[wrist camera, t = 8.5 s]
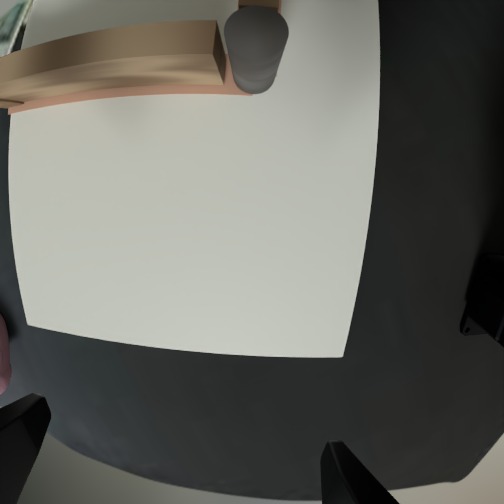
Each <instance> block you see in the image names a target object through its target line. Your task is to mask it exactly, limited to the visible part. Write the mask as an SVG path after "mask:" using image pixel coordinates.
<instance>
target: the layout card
mask: <svg viewBox="0 0 504 504" xmlns="http://www.w3.org/2000/svg"><path fill="white" fill-rule="evenodd" d="M238 4H239V0H34V1H33V4H32V8H31V11H30V14H29V18H28V22H27V25H26V29H25V33H24V38H23V42H22V46H21V50H22V49H25V48H28V47H32V46H35V45H38V44H42V43H45V42H49V41H52V40H56V39H60V38H64V37H68V36H73V35H77V34H82V33H87V32H92V31H97V30H102V29H108V28H115V27H121V26H129V25H137V24H146V23H156V22H169V21H190V20H217V24H218V28H219V32H220V36H221V40H222V44H223V48H224V52H225V56H226V69H225V80H224V85H154V86H136V87H122V88H111V89H101V90H93V91H85V92H77V93H71V94H64V95H58V96H52V97H47V98H41V99H36V100H31V101H27V102H24V104H23V105H18V106H14V107H9V109H8V115H9V114H11V122H10V136H9V203H10V218H11V230H12V240H13V248H14V256H15V263H16V269H17V275H18V281H19V287H20V292H21V297H22V302H23V306H24V311H25V315H26V319H27V324H28V325H31V326H36V327H40V328H45V329H49V330H54V331H59V332H64V333H69V334H74V335H79V336H85V337H90V338H96V339H102V340H108V341H114V342H121V343H128V344H135V345H142V346H150V347H158V348H166V349H175V350H185V351H195V352H207V353H219V354H234V355H251V356H274V357H343V353H344V349H345V345H346V341H347V336H348V332H349V328H350V323H351V318H352V314H353V309H354V304H355V299H356V294H357V289H358V284H359V279H360V273H361V267H362V262H363V256H364V250H365V243H366V237H367V230H368V223H369V216H370V208H371V200H372V191H373V182H374V172H375V161H376V149H377V135H378V118H379V93H380V34H379V11H378V0H279V9H278V13H279V14H281V15H282V16H283V18H284V19H285V21H286V22H287V25H288V29H289V36H288V40H287V43H286V46H285V49H284V52H283V55H282V58H281V61H280V64H279V67H278V70H277V73H276V77H275V80H274V82H273V84H272V86H271V87H270V88H269V89H268V90H267V91H265V92H263V93H260V94H249V93H246V92H243V91H242V90H240V89H239V88H238V87H237V86H236V84H235V82H234V79H233V74H232V70H231V65H230V60H229V56H228V51H227V46H226V42H225V37H224V26H225V23H226V21H227V19H228V18H229V17H230V15H231V14H233V13H234V12H235V11H237V10H238V9H239V6H238Z"/></svg>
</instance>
